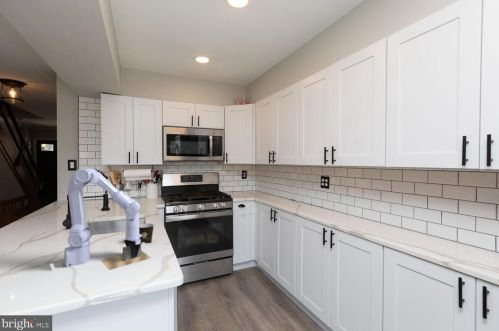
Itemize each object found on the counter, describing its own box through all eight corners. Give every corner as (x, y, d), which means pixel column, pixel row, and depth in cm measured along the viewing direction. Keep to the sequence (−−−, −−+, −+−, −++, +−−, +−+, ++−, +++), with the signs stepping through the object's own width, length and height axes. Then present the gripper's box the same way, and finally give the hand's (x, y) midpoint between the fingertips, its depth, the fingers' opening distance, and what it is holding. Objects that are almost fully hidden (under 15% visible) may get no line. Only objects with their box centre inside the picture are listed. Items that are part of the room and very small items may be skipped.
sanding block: (125, 260, 109) (125, 250, 109) (122, 257, 112) (122, 247, 112) (141, 256, 114) (141, 246, 114) (137, 254, 117) (137, 244, 117)
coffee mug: (156, 240, 140) (156, 224, 140) (146, 245, 132) (146, 228, 131) (140, 238, 143) (140, 222, 143) (129, 243, 135) (129, 226, 135)
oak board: (109, 272, 100) (109, 269, 100) (100, 262, 110) (100, 259, 110) (151, 260, 113) (151, 257, 113) (140, 252, 122) (140, 249, 122)
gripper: (147, 228, 111) (147, 257, 111) (135, 222, 121) (135, 249, 121) (131, 232, 106) (131, 261, 106) (120, 225, 116) (120, 252, 116)
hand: (132, 255), depth 113 cm, fingers closed on sanding block, 4 cm apart
